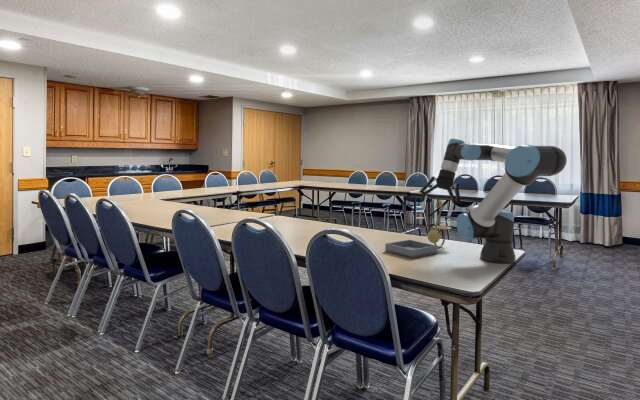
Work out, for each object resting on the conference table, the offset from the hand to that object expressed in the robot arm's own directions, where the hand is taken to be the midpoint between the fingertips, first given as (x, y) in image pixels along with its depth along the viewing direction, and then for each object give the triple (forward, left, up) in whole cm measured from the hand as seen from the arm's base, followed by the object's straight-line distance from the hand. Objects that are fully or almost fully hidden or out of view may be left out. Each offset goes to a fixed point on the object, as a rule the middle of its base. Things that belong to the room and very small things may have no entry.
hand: (435, 212), depth 208 cm
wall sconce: (+6, -11, -20) cm, 24 cm away
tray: (+7, +9, -20) cm, 23 cm away
